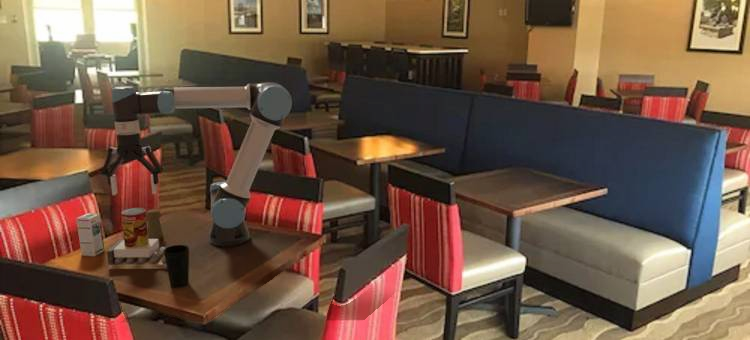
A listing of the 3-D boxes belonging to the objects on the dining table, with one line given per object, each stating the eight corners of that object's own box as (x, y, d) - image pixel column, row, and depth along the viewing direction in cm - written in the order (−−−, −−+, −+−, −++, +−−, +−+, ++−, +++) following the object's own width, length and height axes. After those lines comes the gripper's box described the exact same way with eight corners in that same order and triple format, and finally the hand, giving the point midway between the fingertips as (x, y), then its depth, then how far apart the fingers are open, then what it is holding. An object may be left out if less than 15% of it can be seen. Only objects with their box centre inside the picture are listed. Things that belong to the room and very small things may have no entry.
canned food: (120, 245, 213) (116, 212, 210) (139, 238, 219) (136, 206, 217) (133, 249, 209) (130, 215, 206) (153, 242, 215) (150, 210, 212)
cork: (166, 236, 242) (164, 209, 239) (153, 240, 237) (151, 213, 234) (156, 233, 245) (154, 207, 242) (143, 237, 240) (141, 211, 238)
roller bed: (183, 255, 222) (182, 238, 220) (173, 268, 210) (171, 250, 209) (122, 256, 222) (120, 239, 220) (108, 269, 210) (106, 251, 208)
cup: (170, 279, 201) (167, 245, 198) (194, 278, 202) (191, 244, 199) (164, 289, 193) (161, 254, 191) (189, 288, 194) (186, 253, 191)
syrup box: (95, 256, 221) (90, 218, 218) (80, 255, 222) (75, 217, 219) (105, 251, 227) (100, 213, 223) (90, 249, 228) (86, 212, 224)
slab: (159, 246, 220) (158, 238, 219) (149, 257, 210) (148, 248, 209) (125, 247, 220) (124, 239, 219) (114, 257, 210) (113, 249, 209)
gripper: (85, 135, 203) (93, 197, 208) (161, 134, 203) (168, 195, 208) (95, 131, 210) (102, 191, 215) (168, 130, 210) (174, 189, 216)
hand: (134, 193), depth 212 cm, fingers open, 13 cm apart
